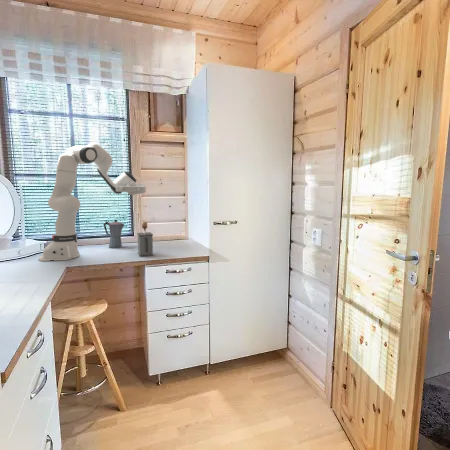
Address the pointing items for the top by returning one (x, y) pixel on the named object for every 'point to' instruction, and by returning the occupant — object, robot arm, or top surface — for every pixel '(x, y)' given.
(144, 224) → the plunger
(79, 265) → the top surface
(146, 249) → the press
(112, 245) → the moka pot
